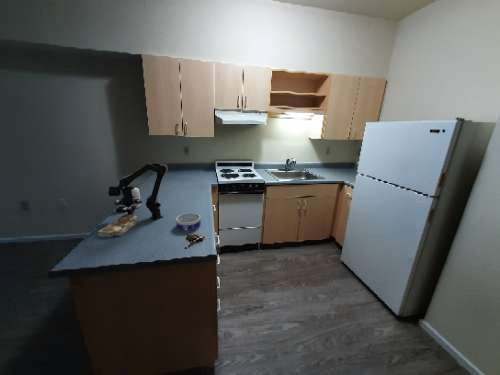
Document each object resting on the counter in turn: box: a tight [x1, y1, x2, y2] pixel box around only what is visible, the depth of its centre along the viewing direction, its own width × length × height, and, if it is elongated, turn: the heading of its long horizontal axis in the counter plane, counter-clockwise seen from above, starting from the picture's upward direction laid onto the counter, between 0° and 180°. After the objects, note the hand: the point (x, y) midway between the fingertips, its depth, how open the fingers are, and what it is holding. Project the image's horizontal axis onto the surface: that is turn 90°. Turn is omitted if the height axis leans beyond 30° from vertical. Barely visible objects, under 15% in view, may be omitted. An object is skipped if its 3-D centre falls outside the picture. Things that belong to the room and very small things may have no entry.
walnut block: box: [119, 213, 133, 224], centre depth 142 cm, size 6×4×4 cm, turn 173°
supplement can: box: [132, 186, 142, 209], centre depth 165 cm, size 8×8×15 cm
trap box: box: [97, 215, 138, 238], centre depth 135 cm, size 24×12×3 cm, turn 173°
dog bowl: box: [175, 212, 202, 232], centre depth 140 cm, size 15×15×6 cm
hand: (131, 216), depth 147 cm, fingers closed
